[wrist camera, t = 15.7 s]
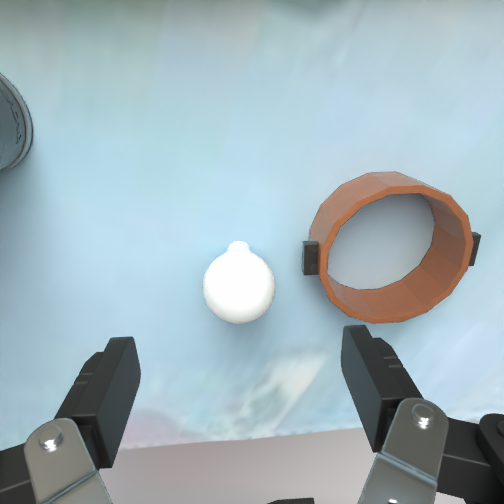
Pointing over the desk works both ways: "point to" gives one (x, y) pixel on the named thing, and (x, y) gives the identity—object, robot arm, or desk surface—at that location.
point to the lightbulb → (238, 285)
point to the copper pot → (416, 282)
